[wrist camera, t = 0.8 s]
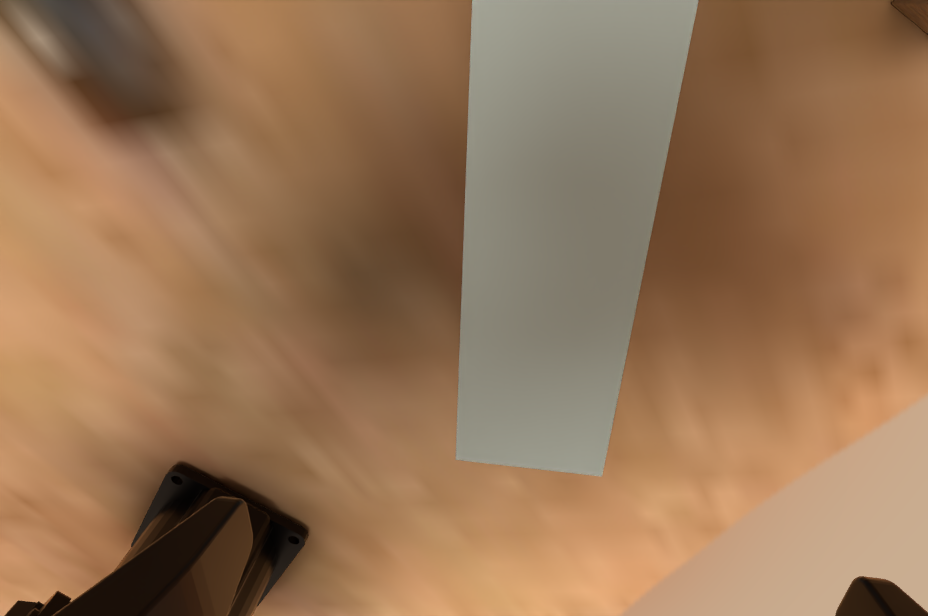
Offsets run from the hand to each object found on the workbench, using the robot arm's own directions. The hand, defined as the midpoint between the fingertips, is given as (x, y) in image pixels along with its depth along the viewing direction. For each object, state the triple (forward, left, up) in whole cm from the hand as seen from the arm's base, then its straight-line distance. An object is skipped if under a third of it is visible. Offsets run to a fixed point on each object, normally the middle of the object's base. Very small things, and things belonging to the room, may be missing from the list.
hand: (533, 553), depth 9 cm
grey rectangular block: (+2, +1, -11) cm, 11 cm away
